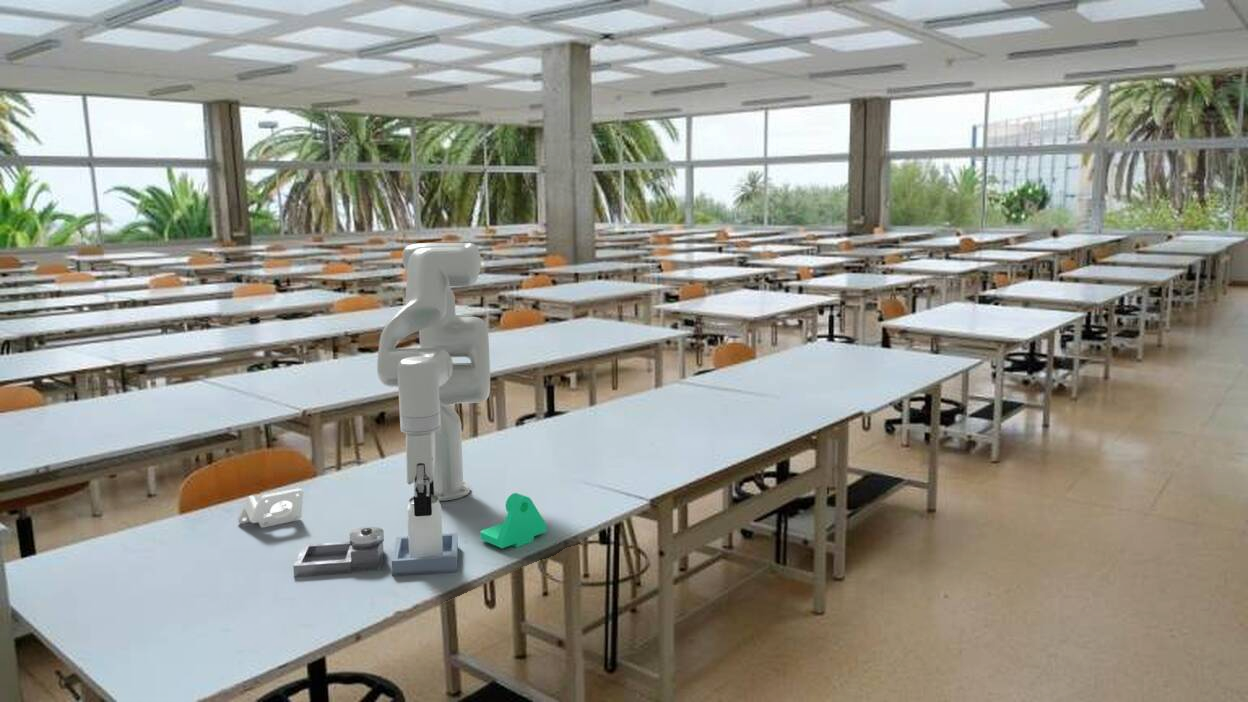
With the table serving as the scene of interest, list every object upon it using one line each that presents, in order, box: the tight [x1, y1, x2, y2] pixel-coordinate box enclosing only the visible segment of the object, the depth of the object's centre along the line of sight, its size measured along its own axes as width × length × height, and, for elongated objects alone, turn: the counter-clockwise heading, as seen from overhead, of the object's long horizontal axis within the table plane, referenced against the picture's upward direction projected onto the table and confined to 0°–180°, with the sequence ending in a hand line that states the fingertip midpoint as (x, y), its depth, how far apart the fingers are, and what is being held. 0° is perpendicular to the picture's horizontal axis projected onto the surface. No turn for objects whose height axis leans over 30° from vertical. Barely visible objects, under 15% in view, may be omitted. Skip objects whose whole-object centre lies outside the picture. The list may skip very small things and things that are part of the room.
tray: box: [391, 532, 459, 577], centre depth 172 cm, size 12×12×3 cm
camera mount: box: [480, 492, 548, 549], centre depth 183 cm, size 12×8×10 cm, turn 138°
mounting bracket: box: [237, 487, 304, 528], centre depth 192 cm, size 12×6×11 cm, turn 126°
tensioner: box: [292, 526, 385, 578], centre depth 171 cm, size 10×16×6 cm, turn 100°
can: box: [406, 495, 443, 558], centre depth 172 cm, size 6×6×12 cm
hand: (424, 505), depth 172 cm, fingers open, 9 cm apart
